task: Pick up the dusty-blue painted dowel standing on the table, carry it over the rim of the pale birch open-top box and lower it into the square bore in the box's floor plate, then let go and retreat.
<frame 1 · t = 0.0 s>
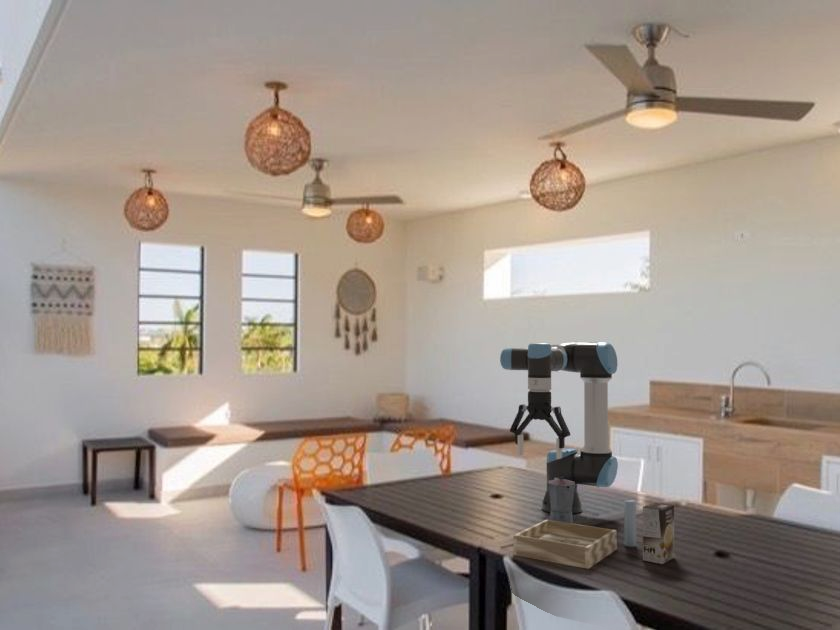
hand: (539, 456, 245), 28 cm above the table, fingers open, 13 cm apart
box: (565, 552, 235), on the table
moka pot: (559, 533, 258), on the table
peg: (630, 545, 243), on the table
coffee box: (658, 560, 228), on the table
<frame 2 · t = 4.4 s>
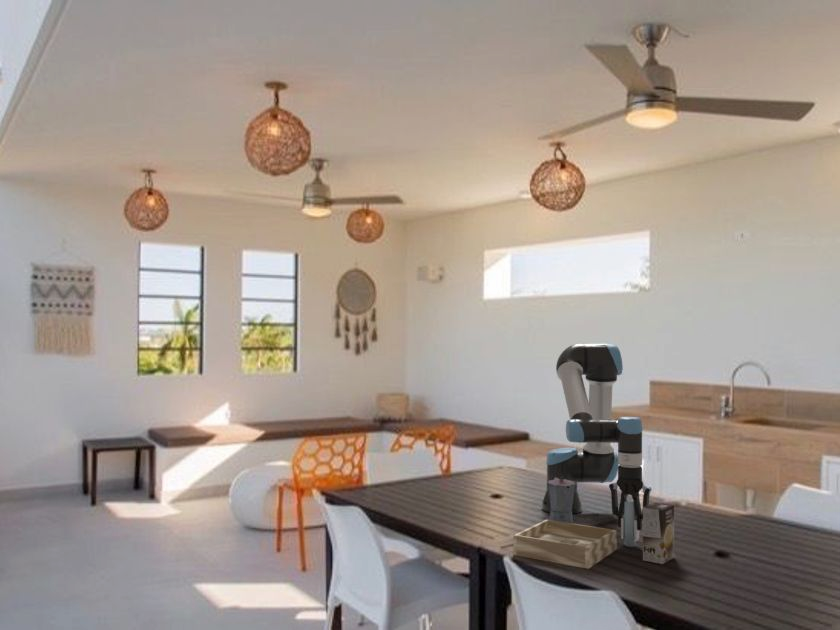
hand: (630, 538, 243), 2 cm above the table, fingers closed on peg, 3 cm apart
peg: (630, 545, 243), on the table, touching gripper
everything else where it was.
when the fingers open (4 cm above the table, at t = 9.6 s): peg drops 1 cm, resting in box.
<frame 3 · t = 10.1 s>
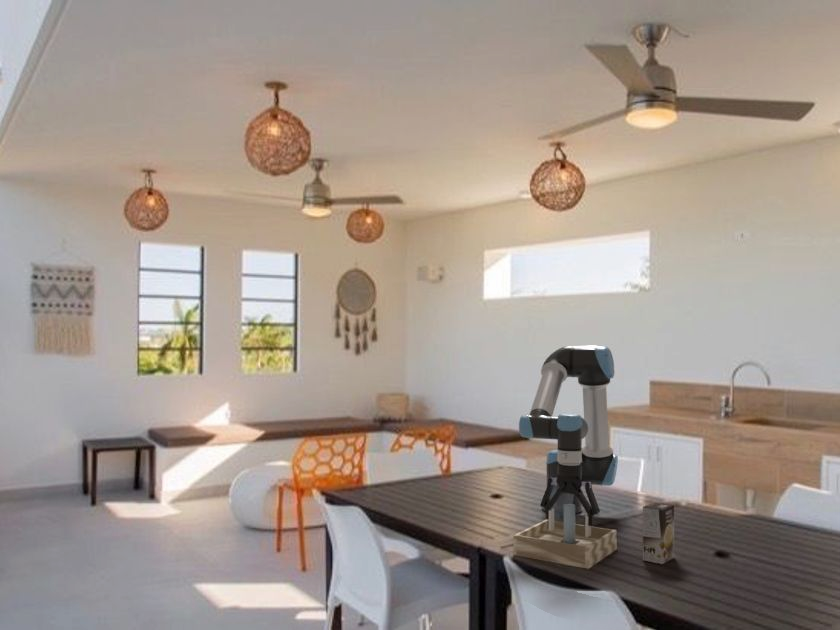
hand: (569, 533, 237), 5 cm above the table, fingers open, 11 cm apart
peg: (569, 549, 237), resting in box
everything else where it was.
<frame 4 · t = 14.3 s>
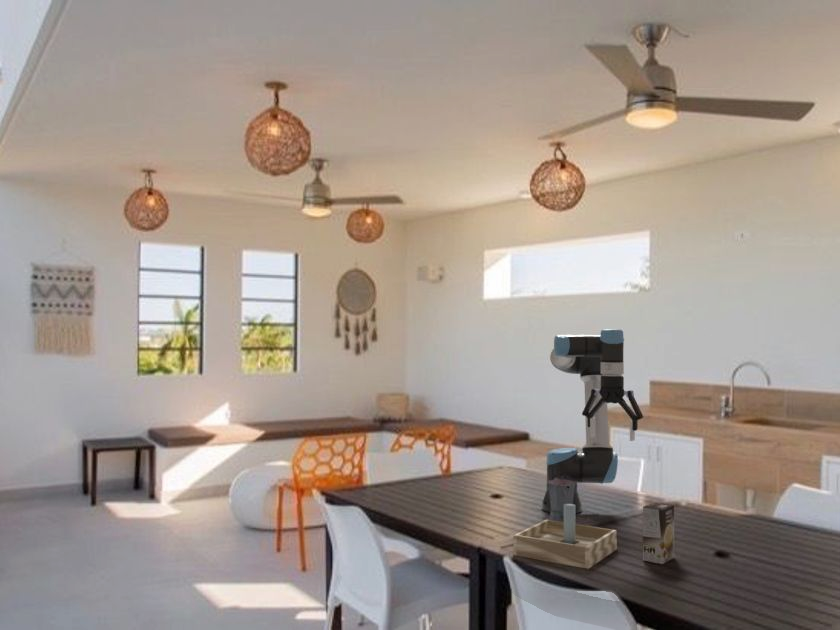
hand: (612, 438, 253), 33 cm above the table, fingers open, 13 cm apart
nothing on the table moved.
at the end: peg 0.0 cm from the target spot on the box, point 0.0 cm above the box's base; peg tilted 0°; the gripper is holding nothing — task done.
